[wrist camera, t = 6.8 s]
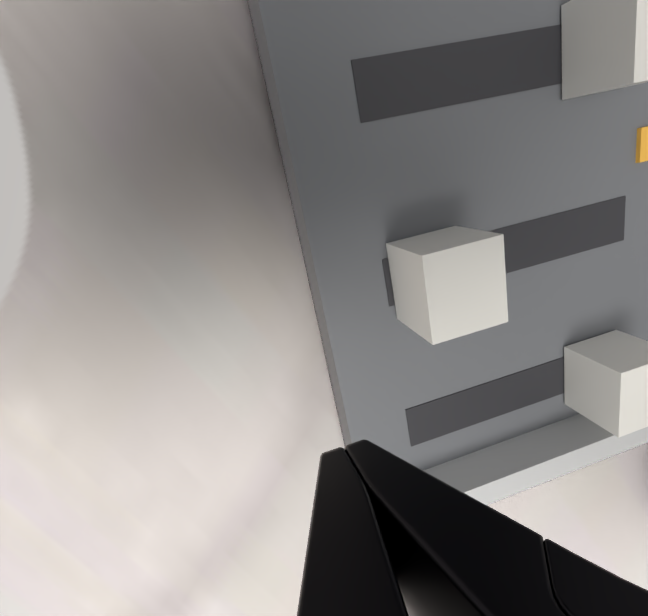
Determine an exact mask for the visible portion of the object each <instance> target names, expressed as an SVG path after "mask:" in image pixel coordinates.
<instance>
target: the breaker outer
mask: <svg viewBox="0 0 648 616" xmlns="http://www.w3.org/2000/svg"><path fill="white" fill-rule="evenodd" d="M561 23H562V100H565V99H570V98H575V97H580V96H585V95H589V94H594V93H599V92H604V91H609V90H614V89H619V88H623V87H628V86H632V85H637V84H641V83H645V82H648V0H571V1H569V2H567V3H565V4H563V5H561Z"/></svg>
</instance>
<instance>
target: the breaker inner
mask: <svg viewBox="0 0 648 616" xmlns="http://www.w3.org/2000/svg"><path fill="white" fill-rule="evenodd" d="M564 395H565V405H567V406H569V407H570V408H572V409H573V410H575V411H577V412H578V413H580V414H581V415H583V416H585V417H586V418H588V419H589V420H591V421H592V422H594V423H596V424H597V425H599V426H600V427H602V428H604V429H605V430H607V431H608V432H610V433H612V434H613V435H615V436H616V437H618V438H619V437H622V436H624V435H627V434H630V433H632V432H635V431H638V430H640V429H643V428H645V427H648V341H646V340H643V339H640V338H638V337H635V336H632V335H629V334H627V333H624V332H621V331H618V330H614V331H611V332H608V333H605V334H602V335H599V336H596V337H593V338H590V339H587V340H584V341H580V342H577V343H574V344H571V345H568V346H565V347H564Z"/></svg>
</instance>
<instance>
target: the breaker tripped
mask: <svg viewBox="0 0 648 616" xmlns="http://www.w3.org/2000/svg"><path fill="white" fill-rule="evenodd" d="M386 248H387V254H388V261H389V268H390V274H391V281H392V288H393V294H394V301H395V307H396V314H397V319H398V320H399V321H401V322H402V323H403V324H405V325H406V326H407V327H409V328H410V329H412V330H413V331H414V332H416V333H417V334H418V335H420V336H421V337H422V338H424V339H425V340H426V341H428V342H429V343H431V344H432V345H435V344H438V343H441V342H444V341H448V340H451V339H454V338H458V337H461V336H464V335H467V334H471V333H474V332H477V331H480V330H484V329H487V328H490V327H493V326H497V325H500V324H503V323H506V322H508V306H507V288H506V270H505V252H504V234H499V233H494V232H488V231H482V230H477V229H471V228H465V227H460V226H452V227H448V228H444V229H440V230H436V231H432V232H428V233H424V234H421V235H417V236H413V237H409V238H405V239H401V240H397V241H393V242H389V243H386Z"/></svg>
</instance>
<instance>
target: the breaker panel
mask: <svg viewBox="0 0 648 616" xmlns="http://www.w3.org/2000/svg"><path fill="white" fill-rule="evenodd" d="M247 1H248V5H249V10H250V14H251V19H252V24H253V28H254V33H255V37H256V42H257V46H258V51H259V56H260V60H261V65H262V69H263V74H264V78H265V83H266V88H267V92H268V97H269V101H270V106H271V110H272V115H273V120H274V124H275V129H276V133H277V138H278V142H279V147H280V152H281V156H282V161H283V165H284V170H285V174H286V179H287V184H288V188H289V193H290V197H291V202H292V206H293V211H294V216H295V220H296V225H297V229H298V234H299V238H300V243H301V248H302V252H303V257H304V261H305V266H306V270H307V275H308V280H309V284H310V289H311V293H312V298H313V302H314V307H315V312H316V316H317V321H318V325H319V330H320V334H321V339H322V344H323V348H324V353H325V357H326V362H327V366H328V371H329V376H330V380H331V385H332V389H333V394H334V398H335V403H336V408H337V412H338V417H339V421H340V426H341V430H342V435H343V440H344V444H345V446H346V445H348V444H351V443H354V442H357V441H360V440H363V439H365V440H369V441H370V442H372V443H374V444H376V445H378V446H379V447H381V448H383V449H385V450H387V451H389V452H390V453H392V454H394V455H396V456H398V457H399V458H401V459H403V460H405V461H407V462H409V463H410V464H412V465H414V466H416V467H418V468H419V469H421V470H423V471H425V472H427V473H429V474H430V475H432V476H434V477H436V478H438V479H439V480H441V481H443V482H445V483H447V484H449V485H450V486H452V487H454V488H456V489H458V490H459V491H461V492H463V493H465V494H467V495H469V496H470V497H472V498H474V499H476V500H478V501H479V502H481V503H483V504H485V505H489V504H492V503H494V502H497V501H500V500H502V499H505V498H507V497H510V496H512V495H515V494H517V493H520V492H523V491H525V490H528V489H530V488H533V487H535V486H538V485H540V484H543V483H546V482H548V481H551V480H553V479H556V478H558V477H561V476H563V475H566V474H569V473H571V472H574V471H576V470H579V469H581V468H584V467H587V466H589V465H592V464H594V463H597V462H599V461H602V460H604V459H607V458H610V457H612V456H615V455H617V454H620V453H622V452H625V451H627V450H630V449H633V448H635V447H638V446H640V445H643V444H645V443H648V427H645V428H643V429H640V430H638V431H635V432H632V433H630V434H627V435H624V436H622V437H619V438H618V437H616V436H615V435H613V434H612V433H610V432H608V431H607V430H605V429H604V428H602V427H600V426H599V425H597V424H596V423H594V422H592V421H591V420H589V419H588V418H586V417H585V416H583V415H581V414H580V413H578V412H577V411H575V410H573V409H572V408H570V407H569V406H567V405H565V395H564V347H565V346H568V345H571V344H574V343H577V342H580V341H584V340H587V339H590V338H593V337H596V336H599V335H602V334H605V333H608V332H611V331H614V330H618V331H621V332H624V333H627V334H629V335H632V336H635V337H638V338H640V339H643V340H646V341H648V82H645V83H641V84H637V85H632V86H628V87H623V88H619V89H614V90H609V91H604V92H599V93H594V94H589V95H585V96H580V97H575V98H570V99H565V100H562V23H561V5H563V4H565V3H567V2H569V1H571V0H247ZM452 226H460V227H465V228H471V229H477V230H482V231H488V232H494V233H499V234H504V252H505V270H506V288H507V306H508V322H506V323H503V324H500V325H497V326H493V327H490V328H487V329H484V330H480V331H477V332H474V333H471V334H467V335H464V336H461V337H458V338H454V339H451V340H448V341H444V342H441V343H438V344H435V345H432V344H431V343H429V342H428V341H426V340H425V339H424V338H422V337H421V336H420V335H418V334H417V333H416V332H414V331H413V330H412V329H410V328H409V327H407V326H406V325H405V324H403V323H402V322H401V321H399V320H398V319H397V314H396V307H395V301H394V294H393V288H392V281H391V274H390V268H389V261H388V254H387V248H386V243H389V242H393V241H397V240H401V239H405V238H409V237H413V236H417V235H421V234H424V233H428V232H432V231H436V230H440V229H444V228H448V227H452Z"/></svg>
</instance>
